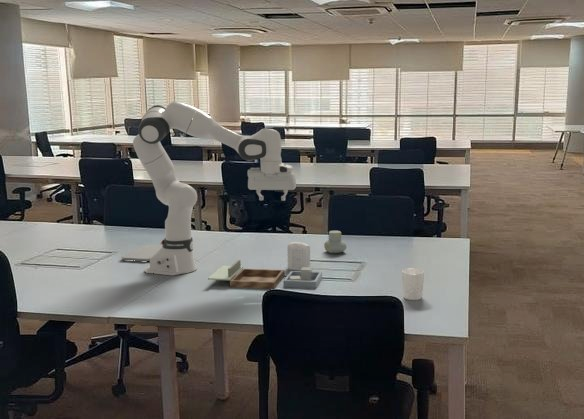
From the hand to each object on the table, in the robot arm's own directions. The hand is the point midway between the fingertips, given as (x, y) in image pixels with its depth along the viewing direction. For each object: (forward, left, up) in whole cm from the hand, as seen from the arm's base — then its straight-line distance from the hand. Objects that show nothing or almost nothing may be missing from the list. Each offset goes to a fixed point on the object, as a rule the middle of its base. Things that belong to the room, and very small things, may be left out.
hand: (272, 200), depth 269 cm
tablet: (-68, +21, -32) cm, 78 cm away
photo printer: (+10, +4, -31) cm, 33 cm away
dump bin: (+15, -15, -31) cm, 38 cm away
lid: (-17, -16, -28) cm, 36 cm away
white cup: (+59, -27, -31) cm, 72 cm away
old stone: (+13, -19, -31) cm, 38 cm away
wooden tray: (-3, -16, -31) cm, 35 cm away
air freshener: (+21, +37, -31) cm, 53 cm away
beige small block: (+16, -13, -31) cm, 37 cm away
